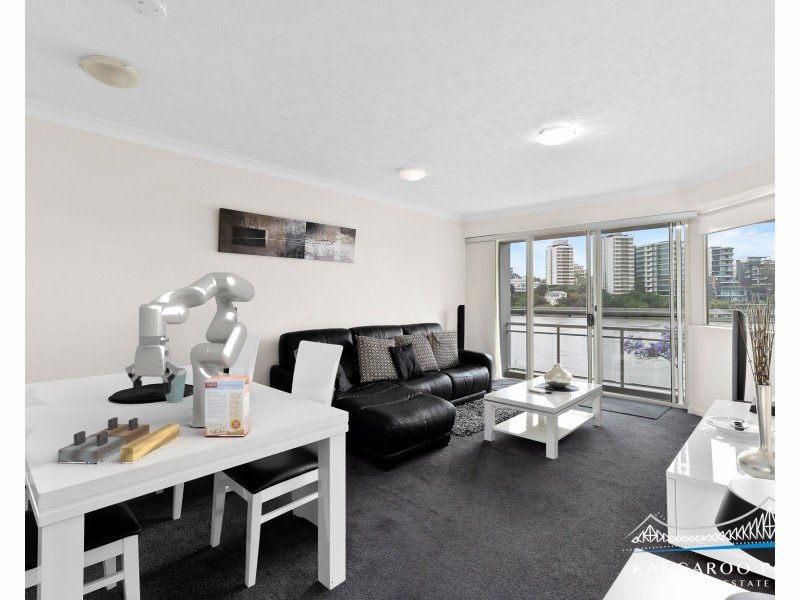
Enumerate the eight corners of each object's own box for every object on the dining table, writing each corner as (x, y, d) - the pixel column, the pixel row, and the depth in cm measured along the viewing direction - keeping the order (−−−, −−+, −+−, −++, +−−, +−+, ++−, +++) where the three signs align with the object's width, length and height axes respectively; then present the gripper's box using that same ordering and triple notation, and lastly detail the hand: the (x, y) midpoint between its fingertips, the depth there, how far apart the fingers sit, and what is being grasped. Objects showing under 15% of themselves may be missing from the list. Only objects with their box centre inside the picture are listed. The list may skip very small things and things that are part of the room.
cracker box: (249, 431, 150) (250, 375, 150) (244, 437, 144) (244, 379, 144) (211, 431, 150) (211, 375, 149) (204, 437, 144) (204, 379, 143)
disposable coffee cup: (178, 404, 185) (178, 371, 185) (155, 403, 185) (155, 371, 185) (191, 398, 196) (191, 367, 195) (169, 397, 196) (169, 367, 195)
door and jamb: (149, 435, 145) (149, 414, 145) (97, 464, 121) (97, 439, 121) (116, 434, 145) (116, 414, 145) (58, 463, 121) (58, 438, 121)
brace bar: (179, 438, 143) (179, 424, 143) (132, 464, 121) (132, 448, 121) (168, 438, 144) (168, 424, 144) (120, 464, 122) (120, 447, 122)
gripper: (184, 340, 135) (184, 391, 136) (134, 339, 136) (134, 390, 136) (171, 343, 128) (171, 397, 128) (118, 342, 128) (118, 395, 129)
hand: (152, 393), depth 132 cm, fingers open, 9 cm apart
